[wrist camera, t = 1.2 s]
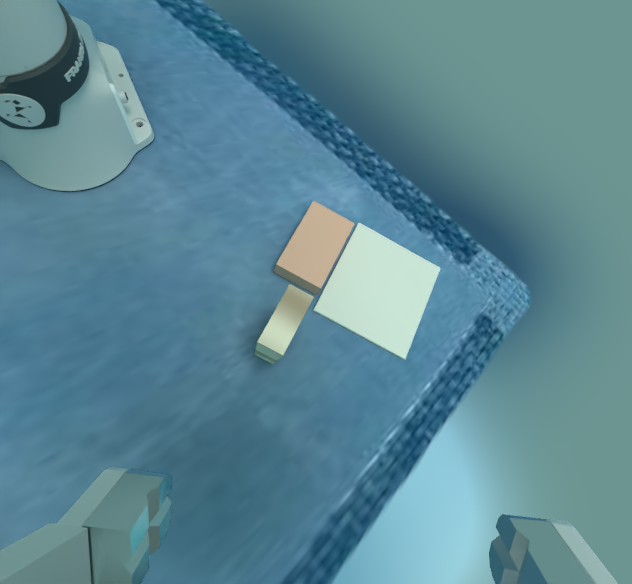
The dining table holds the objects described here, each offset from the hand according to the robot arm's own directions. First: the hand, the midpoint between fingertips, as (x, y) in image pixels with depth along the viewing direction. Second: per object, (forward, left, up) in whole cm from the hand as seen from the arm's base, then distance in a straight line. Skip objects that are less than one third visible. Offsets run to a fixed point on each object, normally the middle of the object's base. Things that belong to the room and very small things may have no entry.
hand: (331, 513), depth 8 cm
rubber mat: (-12, +18, -31) cm, 38 cm away
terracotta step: (-18, +10, -31) cm, 37 cm away
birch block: (-9, +3, -31) cm, 32 cm away
